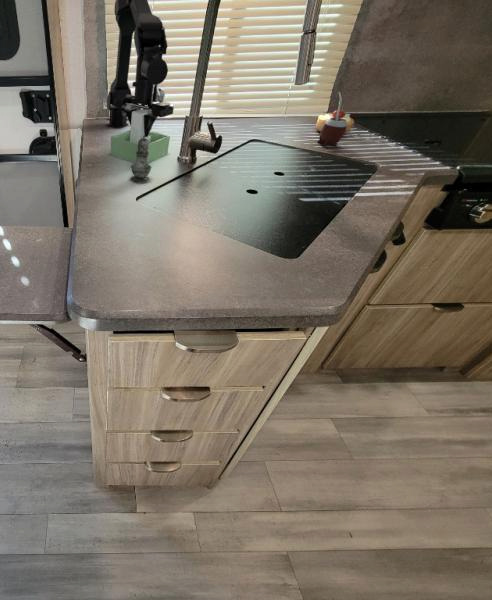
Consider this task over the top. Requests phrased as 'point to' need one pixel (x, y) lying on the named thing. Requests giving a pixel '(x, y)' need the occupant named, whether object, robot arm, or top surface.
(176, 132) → the top surface
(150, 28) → the robot arm
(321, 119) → the pastry
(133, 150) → the green open box
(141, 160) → the grey tall ornate piece
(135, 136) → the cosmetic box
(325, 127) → the mate gourd
